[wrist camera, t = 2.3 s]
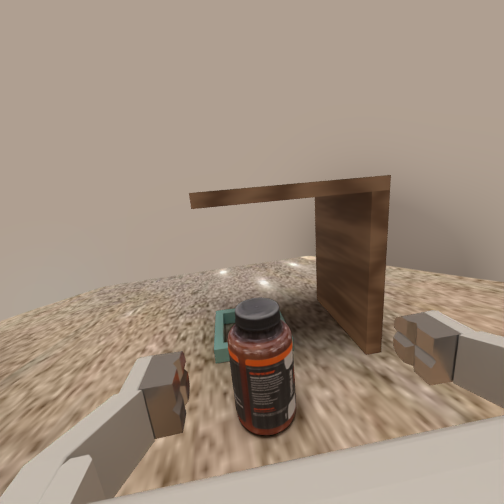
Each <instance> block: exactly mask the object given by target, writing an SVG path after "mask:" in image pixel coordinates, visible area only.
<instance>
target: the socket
mask: <svg viewBox="0 0 504 504" xmlns="http://www.w3.org/2000/svg"><path fill="white" fill-rule="evenodd" d="M279 311H280V310H279ZM280 316H281V318H280V319H281V320H282V321H284V322H285V320H284V318H283V316H282V314H281V312H280ZM230 323H235V308H234V309H227V310H220V311H216V320H215V339H214V354H215V360H216V363H221V362H227V361H230V359H229V351H228V342H226V343H225V327H224V324H230ZM285 323H286V322H285ZM292 345H293V337H292ZM293 351H294V346H293Z"/></svg>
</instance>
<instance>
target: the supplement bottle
mask: <svg viewBox="0 0 504 504" xmlns="http://www.w3.org/2000/svg"><path fill="white" fill-rule="evenodd" d="M280 318H281V316H280V311H279V305H278V303H277V302H276V301H274V300H272V299H268V298H252V299H248V300H245V301H243V302H241V303H239V304H238V305H237V306H236V308H235V323H236V324H235V325H234V326H233V327H232V328H231V330H230V332H229V334H228V351H229V359H230V366H231V374H232V382H233V389H234V396H235V403H236V410H237V414H238V417H239V420H240V422H241V423H242V425H243V426H244V427H245V428H247V429H248V430H249V431H251V432H253V433H255V434H259V435H272V434H276V433H279V432H281V431H283V430H284V429H285V428H287V427H288V426H289V424H290V423H291V422H292V420H293V418H294V416H295V412H296V393H295V378H294V360H293V345H292V333H291V330H290V328H289V326H288V325H287V324H286V323H285V322H284V321H282V320H281V319H280Z"/></svg>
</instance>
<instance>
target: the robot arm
mask: <svg viewBox="0 0 504 504" xmlns="http://www.w3.org/2000/svg"><path fill="white" fill-rule="evenodd" d="M394 328H395V329H396V331H397V333H396V334H395V336H394V337H393V346H394V349H395V351H396V353H397V355H398V356H399V358H400V359H401V360H402V361H403V362H404V363H407V364H409V365H411V366H413V368H414V372H415V373H416V374H418V375H419V376H420V377H421V378H422V379H423V380H424V381H425V382H426V383H427V384H429V385H435V384H441V383H448V382H453V383H454V384H456V385H458V386H460V387H462V388H464V389H466V390H468V391H470V392H472V393H474V394H476V395H478V396H480V397H482V398H484V399H486V400H488V401H490V402H492V403H494V404H496V405H498V406H500V407H502V408H504V337H502V336H498V335H494V334H490V333H486V332H482V331H479V332H476V331H474V330H472V329H471V328H469V327H467V326H465V325H463V324H461V323H459V322H457V321H455V320H454V319H452V318H450V317H448V316H446V315H444V314H442V313H440V312H439V311H434V310H432V311H426V312H421V313H418V314H412V315H406V316H401V317H396V319H395V321H394ZM185 362H186V361H185V356H184V353H183V352H182V351H181V352H174V353H167V354H160V355H154V356H153V355H152V356H146V357H140V358H138V359H137V360H136V362H135V364H134V366H133V367H132V369H131V371H130V373H129V375H128V377H127V379H126V381H125V382H124V384H123V386H122V388H121V390H120V392H119V394H115V395H113V396H111V397H110V398H109V399H108V400H106V401H105V402H104V403H102V404H101V405H100V406H99V407H97V408H96V409H95V410H94V411H92V412H91V413H90V414H89V415H87V416H86V417H85V418H83V419H82V420H81V421H80V422H78V423H77V424H76V425H75V426H73V427H72V428H71V429H70V430H68V431H67V432H66V433H64V434H63V435H62V436H61V437H59V438H58V439H57V440H56V441H54V442H53V443H52V444H51V445H49V446H48V447H47V448H45V449H44V450H43V451H42V452H40V453H39V454H38V455H37V456H35V457H34V458H33V459H32V460H30V461H29V462H28V463H26V464H25V465H24V466H23V467H22V469H21V470H20V471H19V473H18V474H17V476H16V477H15V478H14V480H13V481H12V482H11V484H10V485H9V486H8V488H7V489H6V490H5V492H4V493H3V494H2V496H1V497H0V504H504V415H502V416H498V417H493V418H488V419H483V420H479V421H474V422H469V423H464V424H460V425H455V426H450V427H445V428H441V429H436V430H431V431H426V432H421V433H417V434H412V435H407V436H403V437H398V438H393V439H388V440H384V441H379V442H374V443H370V444H365V445H360V446H355V447H351V448H346V449H341V450H337V451H332V452H327V453H322V454H318V455H313V456H308V457H304V458H299V459H294V460H289V461H285V462H280V463H275V464H271V465H266V466H261V467H256V468H252V469H247V470H242V471H238V472H233V473H228V474H223V475H219V476H214V477H209V478H205V479H200V480H195V481H190V482H186V483H181V484H176V485H171V486H167V487H162V488H157V489H153V490H148V491H143V492H138V493H134V494H129V495H124V496H120V497H115V498H114V496H115V495H116V494H117V492H118V491H119V490H120V488H121V487H122V485H123V484H124V483H125V481H126V480H127V479H128V477H129V476H130V474H131V473H132V472H133V470H134V469H135V468H136V466H137V465H138V463H139V462H140V461H141V459H142V458H143V456H144V455H145V454H146V452H147V451H148V450H149V448H150V447H151V445H152V444H153V443H154V441H155V439H157V438H162V437H166V436H171V435H175V434H180V433H183V429H184V423H185V418H186V410H185V405H186V404H187V402H188V400H189V386H190V385H189V376H188V372H187V371H186V370H185V369H184V367H185Z"/></svg>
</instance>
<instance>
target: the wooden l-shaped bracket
mask: <svg viewBox="0 0 504 504" xmlns="http://www.w3.org/2000/svg"><path fill="white" fill-rule="evenodd" d="M390 180H391V175H387V176H375V177H363V178H353V179H341V180H331V181H319V182H309V183H297V184H286V185H275V186H263V187H252V188H241V189H230V190H219V191H208V192H197V193H189V196H190V203H191V209H195V208H207V207H217V206H227V205H237V204H247V203H258V202H269V201H279V200H289V199H300V198H310V197H315V226H316V228H315V229H316V276H317V300H318V301H319V302H320V304H321V305H322V306H323V307H324V308H325V309H326V310H327V311H328V313H329V314H330V315H331V316H332V317H333V318H334V319H335V320H336V321H337V323H338V324H339V325H340V326H341V327H342V328H343V329H344V330H345V332H346V333H347V334H348V335H349V336H350V337H351V338H352V339H353V340H354V342H355V343H356V344H357V345H358V346H359V347H360V348H361V349H362V351H363V352H364V353H365V354H372V353H378V352H381V341H382V324H383V306H384V288H385V270H386V251H387V234H388V216H389V198H390Z"/></svg>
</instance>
